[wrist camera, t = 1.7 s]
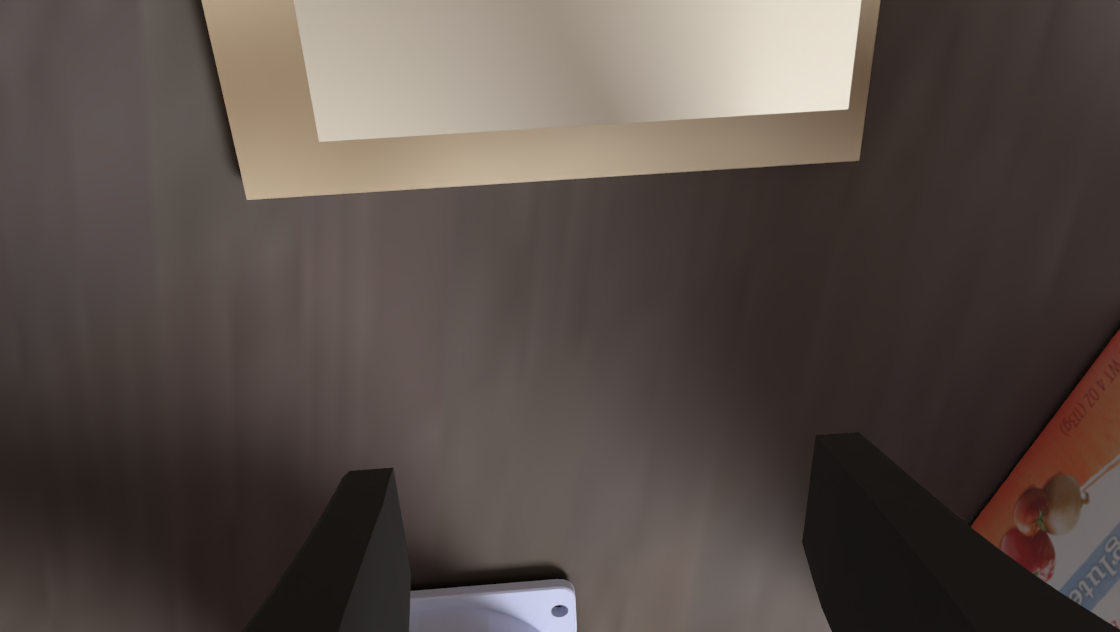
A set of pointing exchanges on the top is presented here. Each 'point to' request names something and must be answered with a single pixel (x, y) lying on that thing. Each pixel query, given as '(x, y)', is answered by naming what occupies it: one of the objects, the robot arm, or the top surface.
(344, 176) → the board
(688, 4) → the beige rectangular block
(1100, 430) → the cracker box
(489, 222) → the top surface
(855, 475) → the robot arm
